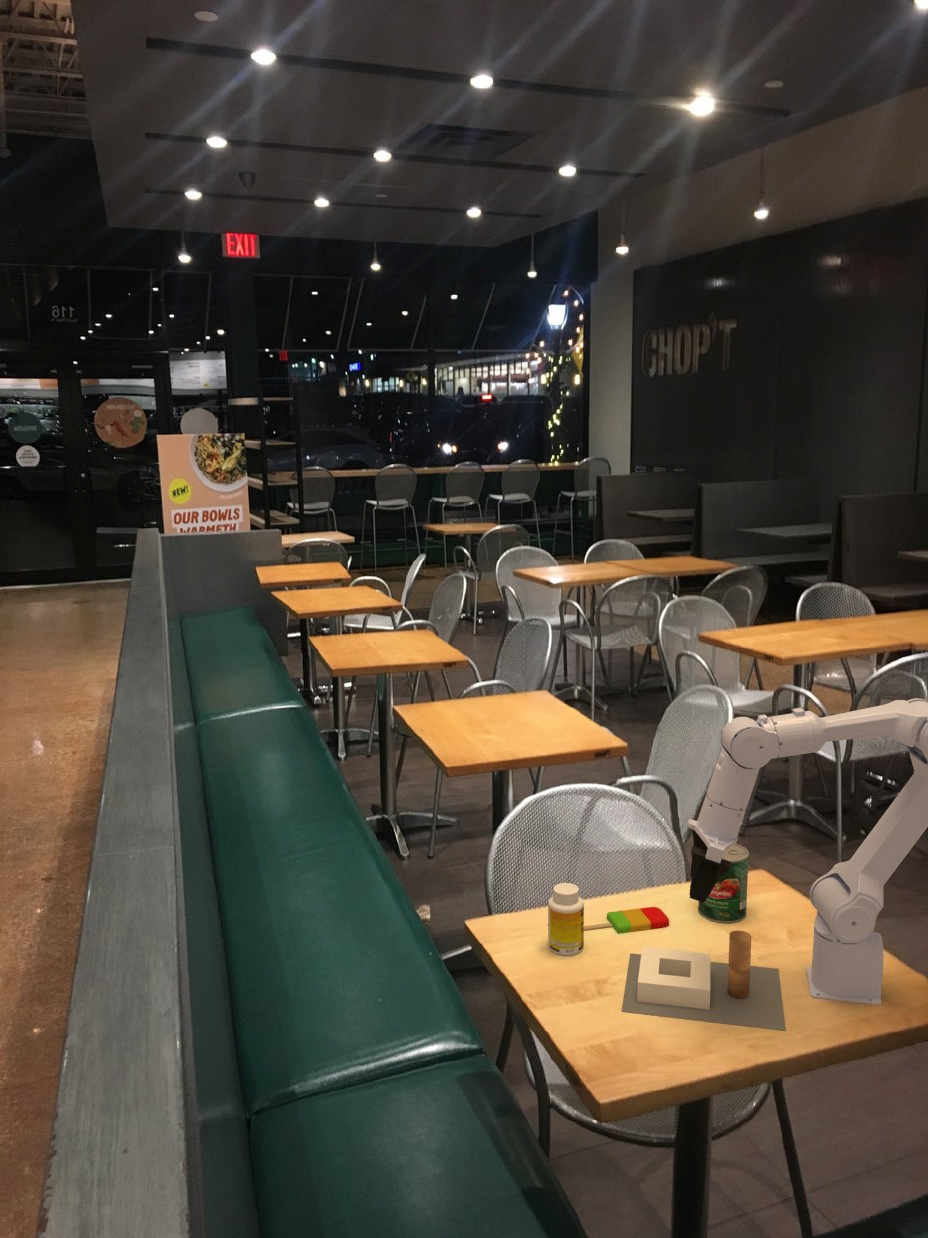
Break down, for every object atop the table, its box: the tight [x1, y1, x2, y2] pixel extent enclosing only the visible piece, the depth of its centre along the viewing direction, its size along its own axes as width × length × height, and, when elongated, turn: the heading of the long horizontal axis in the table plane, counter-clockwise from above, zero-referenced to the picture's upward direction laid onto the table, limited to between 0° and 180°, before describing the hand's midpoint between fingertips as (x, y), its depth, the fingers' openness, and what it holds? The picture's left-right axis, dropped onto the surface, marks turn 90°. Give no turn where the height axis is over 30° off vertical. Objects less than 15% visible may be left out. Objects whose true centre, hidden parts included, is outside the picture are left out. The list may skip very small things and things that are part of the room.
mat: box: [621, 953, 787, 1032], centre depth 146 cm, size 22×16×1 cm
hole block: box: [637, 946, 711, 1010], centre depth 147 cm, size 10×10×3 cm
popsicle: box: [584, 906, 670, 935], centre depth 166 cm, size 6×15×2 cm, turn 102°
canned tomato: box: [697, 843, 750, 924], centre depth 168 cm, size 8×8×11 cm
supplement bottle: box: [547, 882, 585, 957], centre depth 158 cm, size 6×6×10 cm
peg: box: [728, 930, 752, 999], centre depth 144 cm, size 3×3×9 cm
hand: (696, 888), depth 144 cm, fingers open, 7 cm apart
